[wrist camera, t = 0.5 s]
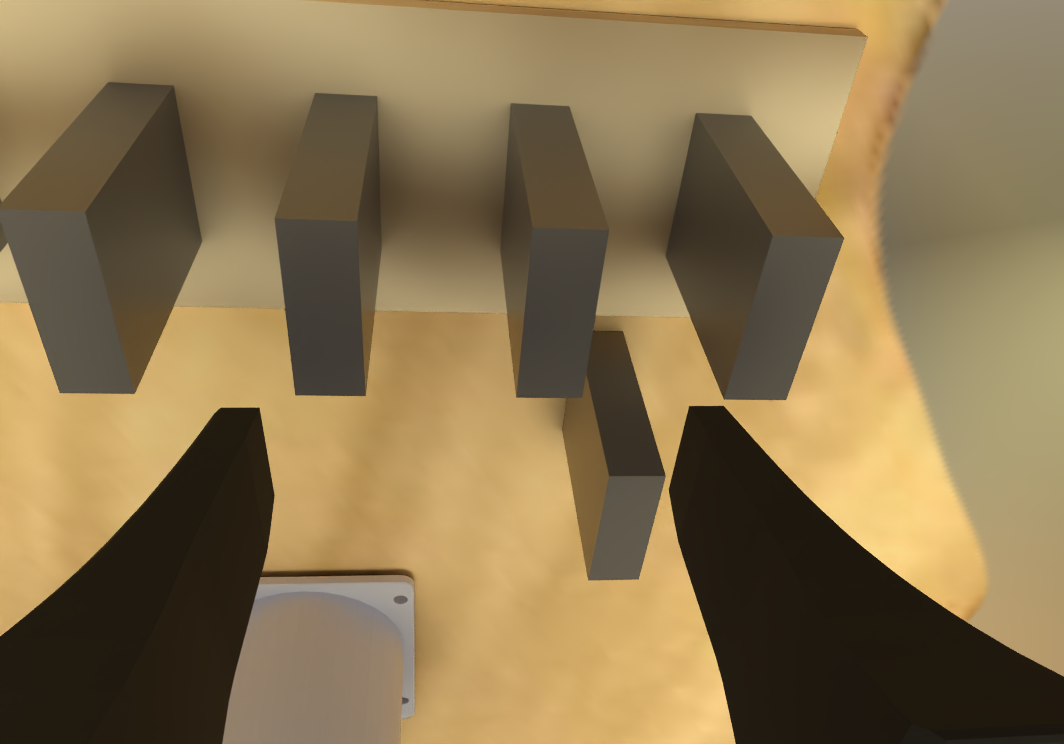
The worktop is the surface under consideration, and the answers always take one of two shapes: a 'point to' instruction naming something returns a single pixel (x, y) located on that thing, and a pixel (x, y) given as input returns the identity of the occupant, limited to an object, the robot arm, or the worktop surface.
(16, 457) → the worktop surface
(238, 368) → the worktop surface
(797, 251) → the domino
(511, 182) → the domino
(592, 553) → the domino
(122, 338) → the domino
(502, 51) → the board
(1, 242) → the domino
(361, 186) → the domino
